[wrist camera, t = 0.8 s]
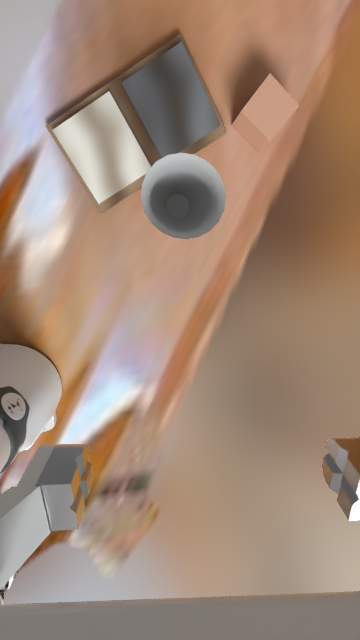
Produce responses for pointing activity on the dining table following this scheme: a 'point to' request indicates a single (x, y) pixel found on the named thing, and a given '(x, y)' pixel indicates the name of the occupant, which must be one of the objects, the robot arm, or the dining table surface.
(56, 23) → the dining table surface
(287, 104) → the terracotta cube
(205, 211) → the chalice
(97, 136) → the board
